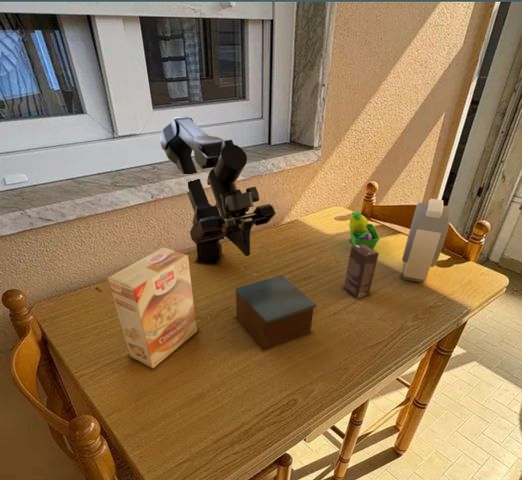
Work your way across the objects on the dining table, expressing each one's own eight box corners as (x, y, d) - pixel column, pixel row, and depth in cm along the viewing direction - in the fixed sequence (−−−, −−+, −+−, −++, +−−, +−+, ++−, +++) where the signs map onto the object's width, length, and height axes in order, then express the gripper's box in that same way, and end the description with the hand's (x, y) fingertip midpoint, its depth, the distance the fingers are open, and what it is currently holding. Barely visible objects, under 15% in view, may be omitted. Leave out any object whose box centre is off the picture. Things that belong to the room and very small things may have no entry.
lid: (315, 307, 83) (316, 304, 82) (266, 323, 78) (266, 321, 77) (281, 277, 92) (281, 274, 91) (235, 290, 87) (235, 288, 87)
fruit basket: (376, 254, 117) (385, 219, 110) (348, 254, 117) (354, 218, 110) (369, 238, 126) (376, 204, 119) (342, 238, 126) (348, 204, 119)
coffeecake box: (153, 369, 79) (133, 288, 66) (128, 356, 81) (104, 277, 69) (199, 331, 88) (189, 254, 75) (175, 321, 91) (162, 245, 78)
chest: (310, 332, 88) (313, 305, 83) (264, 349, 84) (264, 321, 78) (280, 304, 97) (281, 277, 92) (236, 318, 92) (235, 290, 87)
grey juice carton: (427, 290, 102) (453, 217, 89) (395, 284, 104) (415, 211, 91) (431, 261, 115) (454, 192, 101) (402, 255, 117) (421, 188, 104)
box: (370, 294, 101) (379, 252, 93) (356, 298, 99) (365, 256, 91) (356, 283, 105) (364, 242, 97) (342, 287, 103) (350, 246, 95)
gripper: (194, 182, 79) (219, 253, 79) (272, 168, 85) (295, 233, 86) (186, 206, 89) (209, 269, 90) (256, 192, 96) (277, 250, 96)
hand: (248, 255), depth 90 cm, fingers closed
